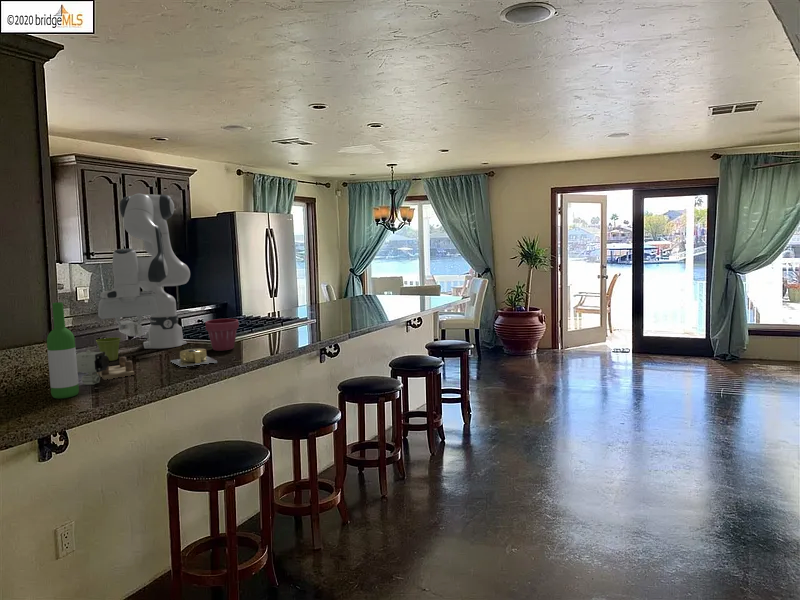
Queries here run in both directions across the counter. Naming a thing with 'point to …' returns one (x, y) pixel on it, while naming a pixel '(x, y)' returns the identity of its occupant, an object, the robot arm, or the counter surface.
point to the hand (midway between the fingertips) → (129, 328)
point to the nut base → (185, 364)
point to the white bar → (131, 328)
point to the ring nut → (193, 355)
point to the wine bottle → (62, 357)
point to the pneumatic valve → (91, 365)
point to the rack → (118, 370)
